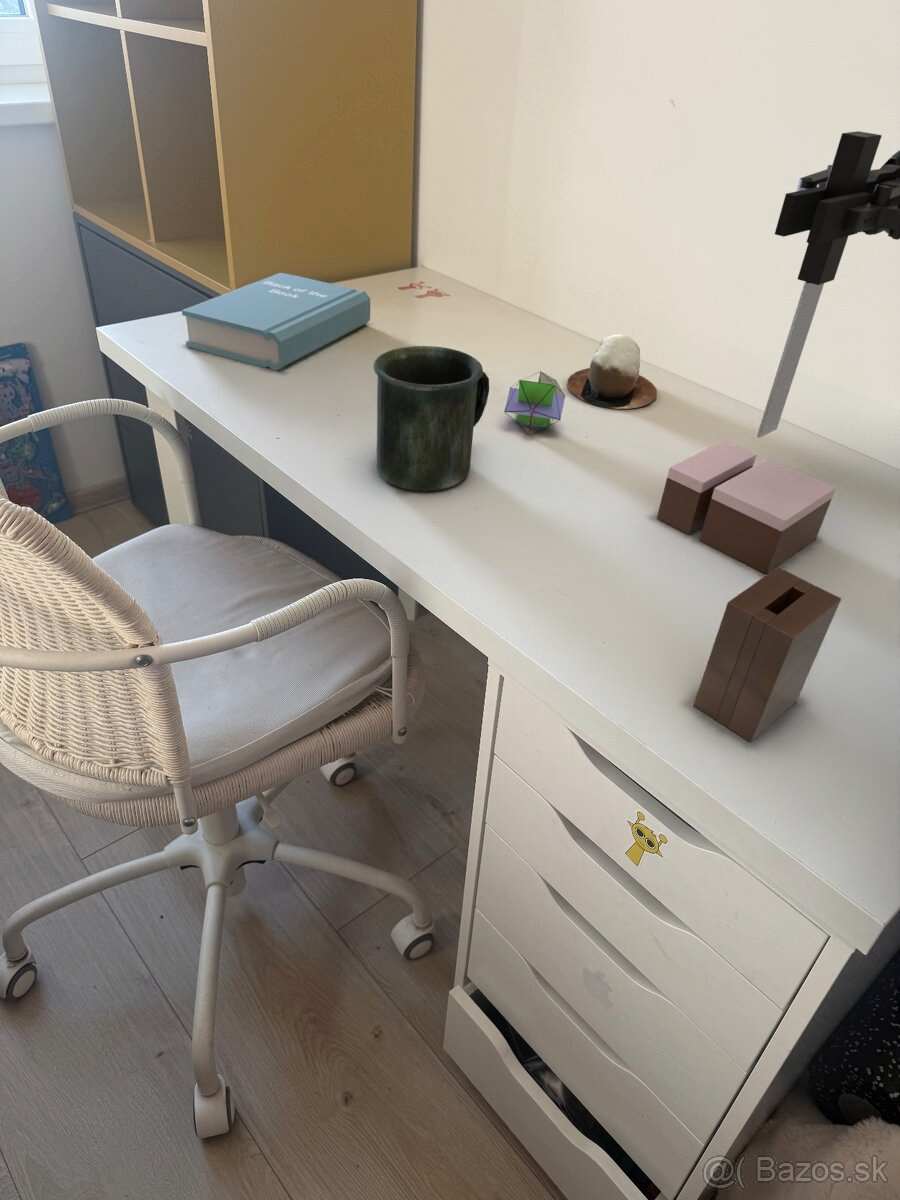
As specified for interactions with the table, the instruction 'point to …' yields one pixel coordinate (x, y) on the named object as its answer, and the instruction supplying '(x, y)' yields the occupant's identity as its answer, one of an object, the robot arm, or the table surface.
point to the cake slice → (699, 484)
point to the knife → (820, 265)
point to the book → (276, 319)
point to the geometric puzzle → (536, 401)
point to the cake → (766, 515)
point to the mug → (427, 415)
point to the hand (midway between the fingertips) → (801, 219)
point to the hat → (614, 376)
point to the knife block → (764, 652)
